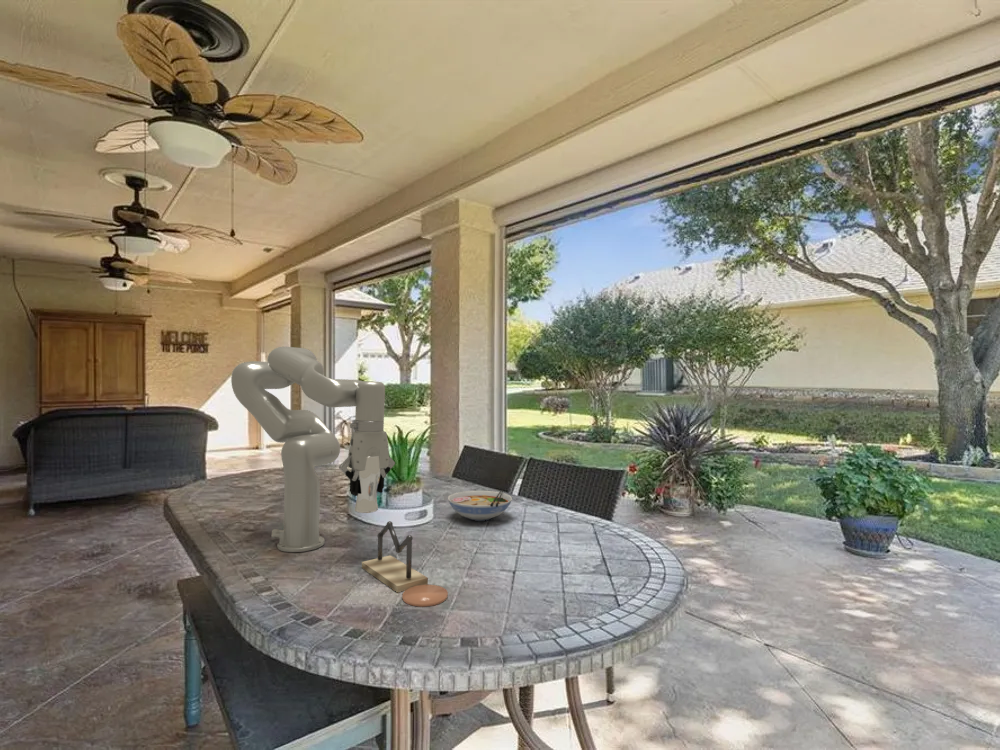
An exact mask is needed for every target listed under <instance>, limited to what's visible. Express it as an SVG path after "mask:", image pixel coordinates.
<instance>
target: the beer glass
mask: <svg viewBox="0 0 1000 750" xmlns="http://www.w3.org/2000/svg"><path fill="white" fill-rule="evenodd" d="M366 459H367V461H366V467H365V470H363V471H359V475H358V477H357V481H358V482H359V485H358V495H357V496H356V499H355V500H356V501H355V506H354V512H356V513H360V514H370V513H375V512H377V511H378V510H379V508H378V507H379V505H378V498H377V497H378V492H377V491H378V486H379V482H380V476H381V469H380V466H379V456H368V457H366Z"/></svg>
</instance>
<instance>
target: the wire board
mask: <svg viewBox="0 0 1000 750" xmlns="http://www.w3.org/2000/svg"><path fill="white" fill-rule="evenodd" d="M361 568H362V569H363V570H364V569H365V570H364V571H365V572H367V573H368V574H370V576H373V577H374V578H376V579H377V580H379V581H380V582H381V583H382V584H384V585H385V584H386V585H385V586H387V587H388V586H389V587H388V588H389V589H391V588H392V589H391V590H393V591H394V592H395V591H396V592H395V593H397V592H398V593H402V592H404V591H405V590H407V589H409V588H411V587H414V586H418V585H429V580H428V579H429V578H428V576H426V575H424V574H423V573H421V572H419V571H417V570H416V569H414V568H412V567H411V578H406V563H404V562H402V561H400V559H398V558H396V557H394V556H392V555H386V556H382V560H378V557H377V558H374V559H369V560H364V561H361ZM401 591H402V592H401Z"/></svg>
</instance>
